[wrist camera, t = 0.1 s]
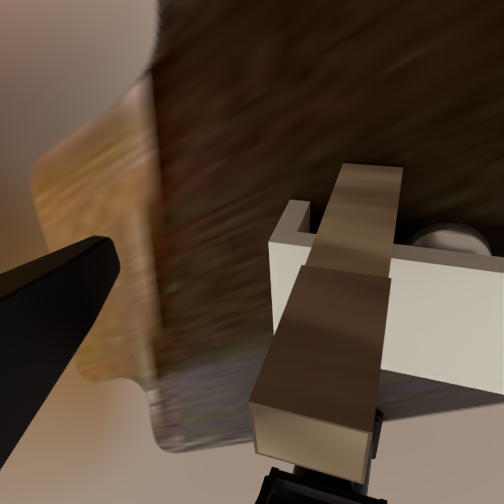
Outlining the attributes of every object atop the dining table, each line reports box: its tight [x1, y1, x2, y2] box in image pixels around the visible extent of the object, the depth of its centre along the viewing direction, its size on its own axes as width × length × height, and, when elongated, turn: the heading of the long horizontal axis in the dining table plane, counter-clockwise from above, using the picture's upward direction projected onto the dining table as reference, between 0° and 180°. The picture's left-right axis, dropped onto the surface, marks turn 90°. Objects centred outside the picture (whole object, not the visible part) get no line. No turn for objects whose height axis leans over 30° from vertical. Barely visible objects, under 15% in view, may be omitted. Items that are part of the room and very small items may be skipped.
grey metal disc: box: [407, 222, 492, 256], centre depth 24 cm, size 4×4×1 cm
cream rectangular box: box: [269, 200, 504, 394], centre depth 24 cm, size 8×14×4 cm, turn 95°
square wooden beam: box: [249, 163, 403, 484], centre depth 19 cm, size 9×9×15 cm
